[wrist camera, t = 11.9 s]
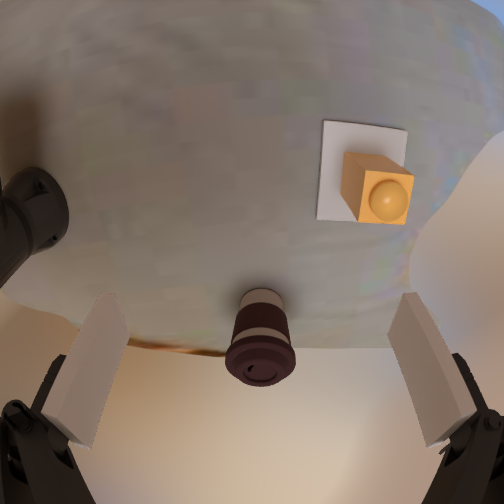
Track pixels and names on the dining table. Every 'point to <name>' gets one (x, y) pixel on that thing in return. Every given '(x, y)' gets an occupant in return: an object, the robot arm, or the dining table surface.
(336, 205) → the white pegged board
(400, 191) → the orange toy brick
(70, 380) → the robot arm
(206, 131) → the dining table surface
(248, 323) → the coffee cup
